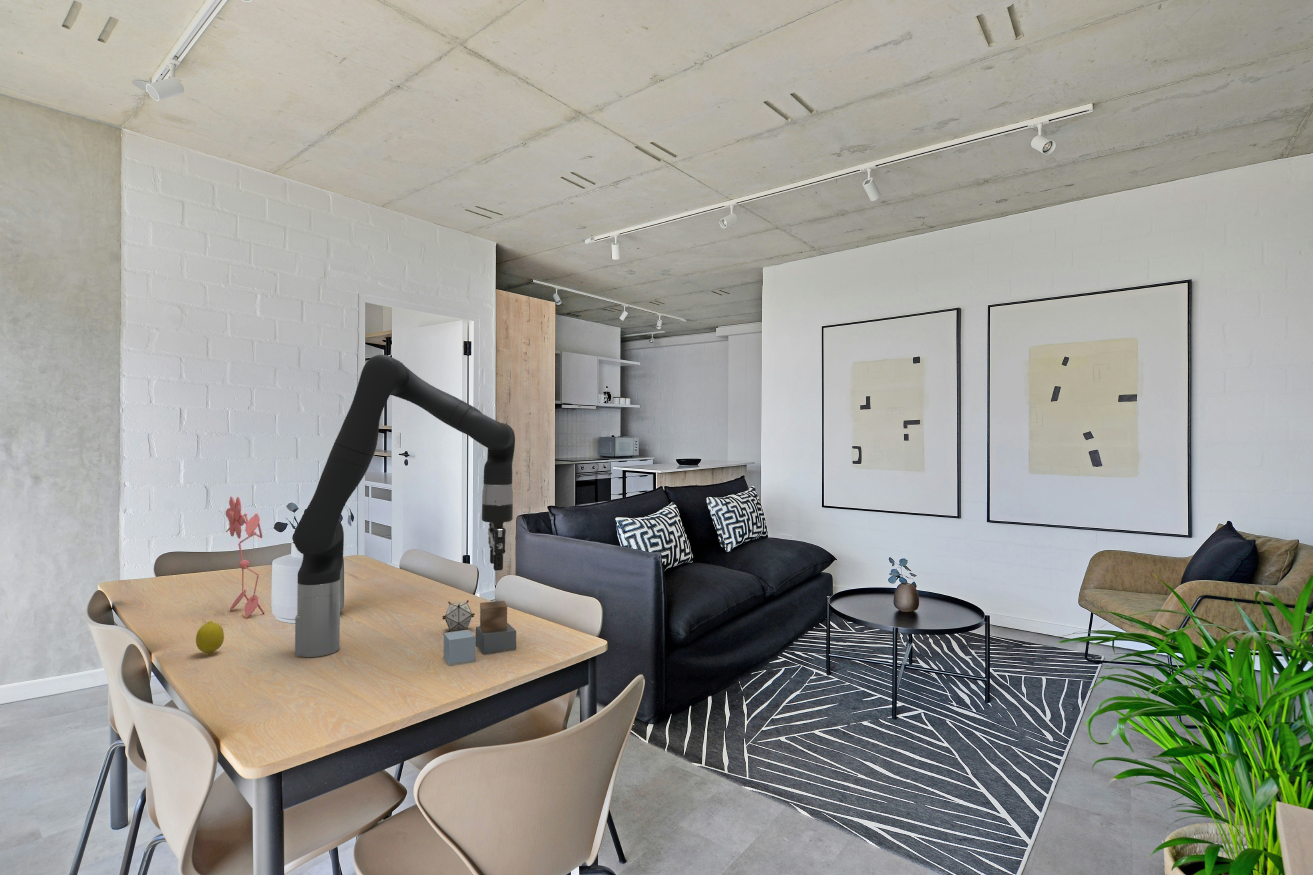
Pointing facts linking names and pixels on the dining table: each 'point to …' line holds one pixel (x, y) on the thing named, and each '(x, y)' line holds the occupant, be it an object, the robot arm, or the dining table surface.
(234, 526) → the pink stick figure
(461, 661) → the slate cube
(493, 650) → the charcoal block
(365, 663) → the dining table surface
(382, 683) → the dining table surface
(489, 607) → the walnut cube
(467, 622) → the game die
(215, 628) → the lemon
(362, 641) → the dining table surface
